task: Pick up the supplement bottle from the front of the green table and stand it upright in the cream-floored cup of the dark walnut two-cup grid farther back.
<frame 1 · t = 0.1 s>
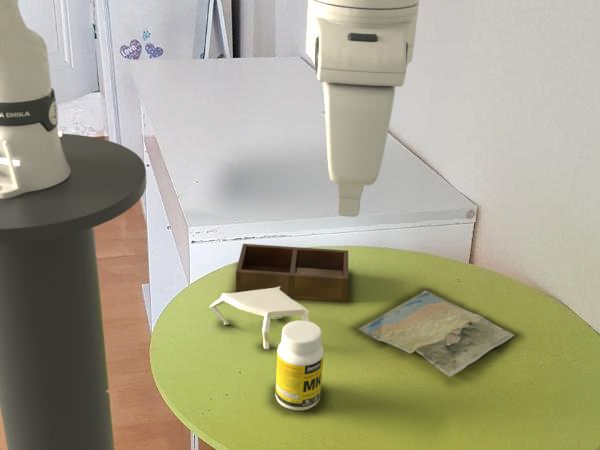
hand: (347, 189, 67), 24 cm above the table, tool pointing down, fingers open, 8 cm apart
topographic map: (436, 334, 91), on the table
origami figure: (259, 333, 89), on the table
supplement bottle: (297, 398, 79), on the table
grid: (292, 283, 99), on the table
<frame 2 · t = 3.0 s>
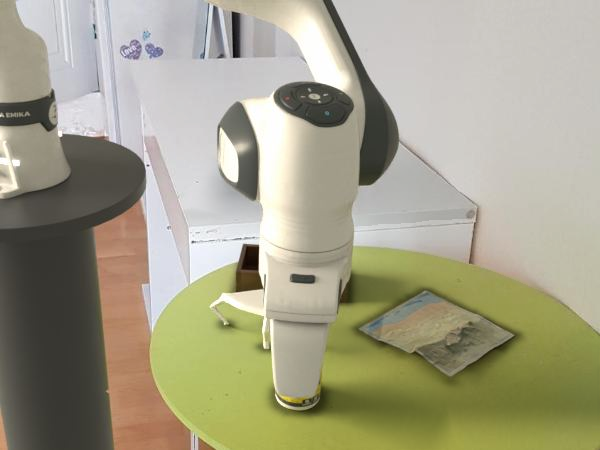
hand: (299, 373, 78), 3 cm above the table, tool pointing down, fingers closed on supplement bottle, 5 cm apart
supplement bottle: (297, 398, 79), on the table, touching gripper
everything else where it was.
when the fingers open (4 cm above the table, at t = 10.5 s): supplement bottle stays where it is, resting on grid.
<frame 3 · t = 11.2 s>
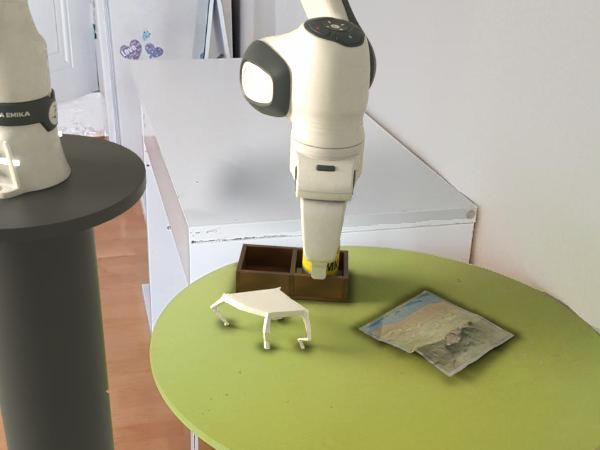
hand: (319, 257, 97), 4 cm above the table, tool pointing down, fingers open, 8 cm apart
supplement bottle: (319, 281, 99), point 1 cm above the table, touching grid
everything else where it was.
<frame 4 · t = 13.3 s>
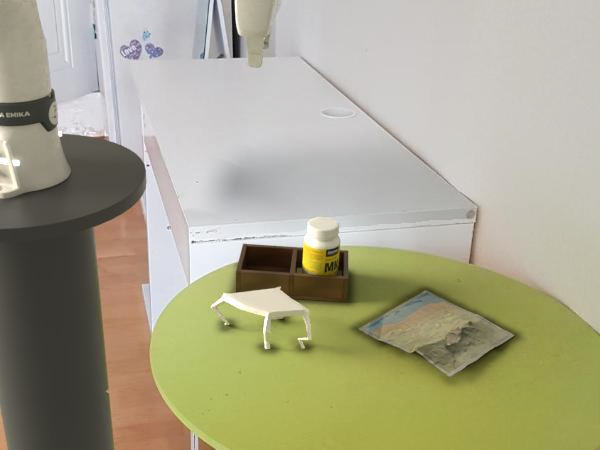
hand: (258, 56, 98), 27 cm above the table, tool pointing down, fingers open, 8 cm apart
nothing on the table moved.
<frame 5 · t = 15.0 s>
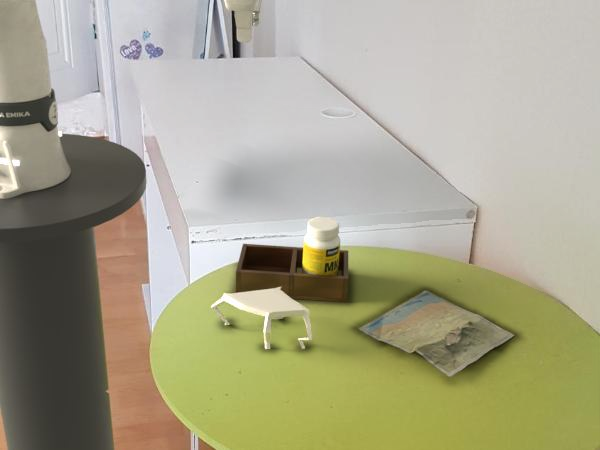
hand: (248, 32, 99), 29 cm above the table, tool pointing down, fingers open, 8 cm apart
nothing on the table moved.
at the end: supplement bottle 0.2 cm from the target spot in the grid, point 0.5 cm above the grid's base; supplement bottle tilted 0° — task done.
